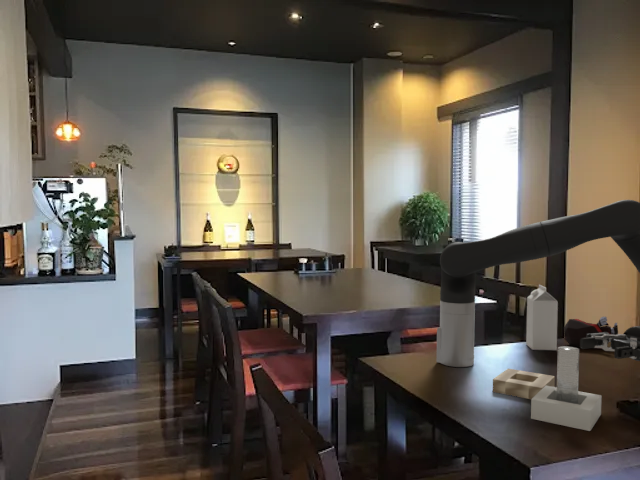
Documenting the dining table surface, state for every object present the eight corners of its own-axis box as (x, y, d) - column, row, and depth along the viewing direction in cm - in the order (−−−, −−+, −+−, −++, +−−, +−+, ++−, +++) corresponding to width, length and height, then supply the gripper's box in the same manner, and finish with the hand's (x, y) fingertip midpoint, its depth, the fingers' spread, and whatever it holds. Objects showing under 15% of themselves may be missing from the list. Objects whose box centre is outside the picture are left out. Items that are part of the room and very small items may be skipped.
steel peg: (553, 417, 116) (555, 349, 115) (558, 411, 119) (560, 345, 118) (574, 421, 113) (576, 352, 112) (579, 415, 116) (581, 348, 116)
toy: (616, 307, 172) (562, 308, 177) (620, 332, 165) (564, 332, 171) (615, 332, 179) (564, 332, 185) (619, 357, 172) (565, 356, 178)
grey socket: (530, 418, 115) (531, 399, 114) (545, 403, 124) (545, 385, 123) (590, 431, 108) (590, 410, 108) (600, 414, 117) (601, 395, 117)
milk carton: (549, 345, 177) (551, 284, 176) (556, 350, 170) (558, 287, 169) (526, 344, 178) (527, 284, 177) (532, 350, 171) (533, 287, 169)
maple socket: (492, 391, 131) (492, 379, 131) (507, 380, 140) (508, 368, 140) (541, 401, 125) (542, 388, 125) (554, 388, 134) (554, 376, 134)
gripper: (622, 319, 132) (571, 323, 125) (683, 332, 119) (629, 338, 112) (621, 351, 132) (569, 357, 126) (681, 367, 119) (627, 375, 113)
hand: (598, 348), depth 119 cm, fingers open, 8 cm apart
